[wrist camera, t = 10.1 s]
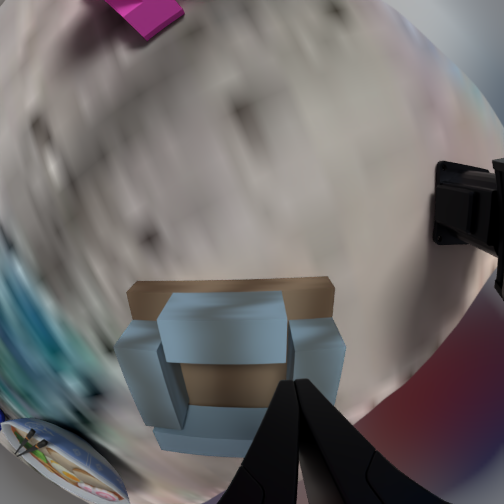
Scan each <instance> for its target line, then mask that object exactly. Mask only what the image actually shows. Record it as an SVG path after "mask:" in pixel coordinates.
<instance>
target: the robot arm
mask: <svg viewBox="0 0 504 504" xmlns="http://www.w3.org/2000/svg"><path fill="white" fill-rule="evenodd" d="M492 164H493V169H495V174H494V173H489V171H488V170H486V169H482V168H477V167H473V166H468V165H463V164H458V163H453V162H447V161H439V162H438V164H437V188H436V207H435V221H434V231H433V242H434V243H435V244H437V245H457V244H470V245H472V246H475V247H477V248H479V249H481V250H483V251H485V252H487V253H489V254H491V255H493V256H495V257H497V258H498V265H497V277H496V280H495V286H494V288H495V289H496V290H497V292H498V293H499V295H500V296H501V298H502V299H503V301H504V158H501V159H496V160H492ZM442 165H443V166H444V169H442ZM439 236H440V238H439V240H438V237H439ZM375 450H376V449H375V448H374V447H373V446H372V445H371V444H370V443H369V442H368V441H367V440H366V439H365V438H364V437H363V436H362V435H361V434H360V432H359V431H357V429H356V428H354V426H353V425H352V424H351V423H350V422H349V421H348V420H347V419H346V418H345V417H344V416H343V415H342V414H341V413H340V412H339V411H338V410H337V409H336V408H335V407H334V406H333V405H332V403H331V402H330V401H329V400H328V399H327V398H326V397H325V396H324V395H323V394H322V393H321V392H320V391H319V390H318V389H317V387H316V386H315V385H314V384H313V383H312V382H311V381H310V380H309V379H308V378H302V379H295V380H294V381H293V380H292V379H289V380H280V381H279V383H278V385H277V388H276V390H275V392H274V395H273V397H272V399H271V402H270V404H269V406H268V408H267V411H266V413H265V415H264V417H263V420H262V422H261V424H260V426H259V428H258V430H257V433H256V435H255V437H254V439H253V441H252V443H251V445H250V447H249V449H248V451H247V453H246V455H245V457H244V459H243V461H242V463H241V466H240V467H239V469H238V471H237V473H236V475H235V477H234V478H233V480H232V482H231V483H230V485H229V487H228V488H227V490H226V492H225V493H224V494H223V496H222V497H221V499H220V500H219V501H218V503H217V504H296V501H297V484H298V467H299V462H300V466H301V471H302V475H303V480H304V484H305V489H306V493H307V498H308V502H309V504H451V503H449V502H446V501H444V500H442V499H441V498H439V497H437V496H436V495H434V494H432V493H431V492H430V491H428V490H426V489H425V488H423V487H422V486H420V485H419V484H418V483H416V482H415V481H413V480H412V479H410V478H409V477H408V476H406V475H405V474H404V473H402V472H401V471H400V470H398V469H397V468H396V467H395V466H394V465H392V464H391V463H390V462H389V461H388V460H387V459H386V458H385V457H383V455H382V454H381V453H380V452H379V451H377V450H376V451H375Z"/></svg>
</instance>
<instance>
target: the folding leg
mask: <svg viewBox="0 0 504 504" xmlns="http://www.w3.org/2000/svg"><path fill="white" fill-rule="evenodd" d="M266 411H267V408H231V407H210V406H196V405H188V407H187V411H186V415H185V419H184V423H183V427H182V430H175V429H167V428H160V427H154V430H153V433H154V435H155V437H156V439H157V441H158V443H159V446H160V448H161V450H166V451H172V452H179V453H187V454H196V455H206V456H219V457H243V458H244V457H245V455H246V453H247V451H248V449H249V447H250V445H251V443H252V441H253V439H254V437H255V435H256V433H257V430H258V428H259V426H260V424H261V422H262V420H263V417H264V415H265V413H266Z"/></svg>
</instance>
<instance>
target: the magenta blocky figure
mask: <svg viewBox="0 0 504 504" xmlns="http://www.w3.org/2000/svg"><path fill="white" fill-rule="evenodd" d="M104 1H106V2H107V3H108V4H109V5H110V6H111V7H112V8H113V9H114V10H115V11H116V12H118V13H119V14H120V15H121V16H122V17H123V18H124V19H125V20H126V21H127V22H128V23H129V24H130V25H131V26H132V27H133V28H134V29H135V30H136V31H137V32H138V33H139V34H140V35H142V36H143V37H144V38H145V39H146V40H147V41H148V40H149V39H150V38H152V37H153V36H154V35H155V34H157V33H158V32H159V31H161V30H162V29H163V28H165V27H166V26H168V25H169V24H170V23H172V22H173V21H175V20H176V19H178V18H179V17H180V16H182V15H183V14H185V13H184V11H183V9H182V8H181V7H180V5H179V4H178V3H177V2H176V1H175V0H104Z"/></svg>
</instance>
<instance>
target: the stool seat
mask: <svg viewBox="0 0 504 504" xmlns="http://www.w3.org/2000/svg"><path fill="white" fill-rule="evenodd" d="M126 293H127V297H128V302H129V306H130V310H131V314H132V318H133V320H132V322H131V323H130V324H129V326H128V327H127V329H126V330H125V331H124V333H123V334H122V336H121V337H120V338H119V340H118V341H117V343H116V344H115V345H114V347H113V348H114V351H115V353H116V356H117V359H118V362H119V364H120V367H121V370H122V372H123V375H124V378H125V380H126V383H127V385H128V387H129V390H130V392H131V395H132V397H133V399H134V401H135V404H136V406H137V408H138V410H139V412H140V415H141V417H142V419H143V421H144V423H145V425H147V426H153V427H160V428H167V429H175V430H182V427H183V423H184V419H185V415H186V411H187V407H188V405H196V406H210V407H231V408H268V406H269V404H270V402H271V399H272V397H273V395H274V392H275V390H276V388H277V385H278V383H279V381H280V380H289V379H292V380H293V381H294V380H295V379H302V378H308V379H309V380H310V381H311V382H312V383H313V384H314V385H315V386H316V387H317V389H318V390H319V391H320V392H321V393H322V394H323V395H324V396H325V397H326V398H327V399H328V400H329V401H330V402H331V403H332V405H333V406H334V404H335V400H336V395H337V391H338V386H339V382H340V377H341V372H342V367H343V362H344V357H345V351H346V345H345V343H344V341H343V339H342V337H341V335H340V333H339V331H338V328H337V326H336V324H335V322H334V320H333V318H332V314H333V304H334V293H335V287H334V286H333V284H332V282H331V281H330V279H329V278H328V276H326V277H304V278H280V279H250V280H208V281H137V282H136V283H135V284H134V285H133V286H132V287H131V288H130V289H129V290H128V291H127V292H126Z"/></svg>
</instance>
